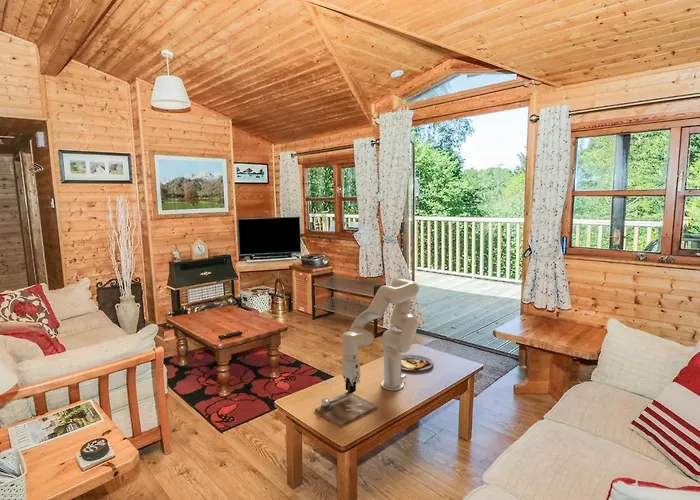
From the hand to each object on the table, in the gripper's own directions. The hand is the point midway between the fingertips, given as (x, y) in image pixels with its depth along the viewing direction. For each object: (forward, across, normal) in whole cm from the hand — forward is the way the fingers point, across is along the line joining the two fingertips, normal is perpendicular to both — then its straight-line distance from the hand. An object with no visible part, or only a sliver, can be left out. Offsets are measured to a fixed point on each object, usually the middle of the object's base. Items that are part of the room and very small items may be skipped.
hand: (350, 390), depth 208 cm
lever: (+3, 0, +8) cm, 9 cm away
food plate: (+6, +7, -58) cm, 59 cm away
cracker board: (+6, -6, +8) cm, 11 cm away
